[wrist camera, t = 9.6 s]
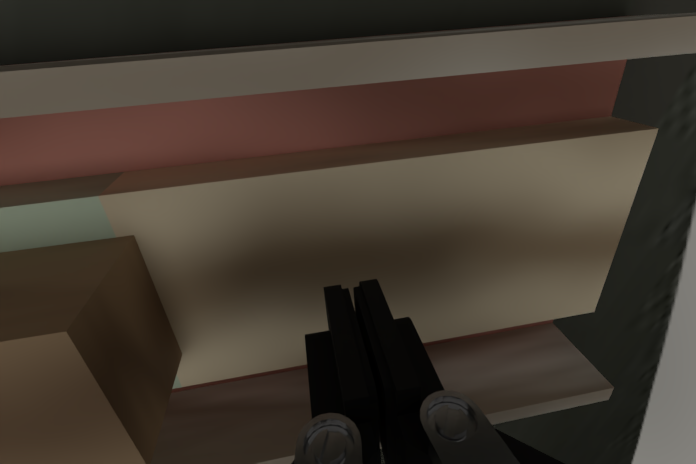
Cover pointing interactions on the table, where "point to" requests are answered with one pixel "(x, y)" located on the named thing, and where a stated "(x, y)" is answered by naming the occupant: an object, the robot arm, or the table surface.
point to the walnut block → (82, 355)
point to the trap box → (345, 204)
